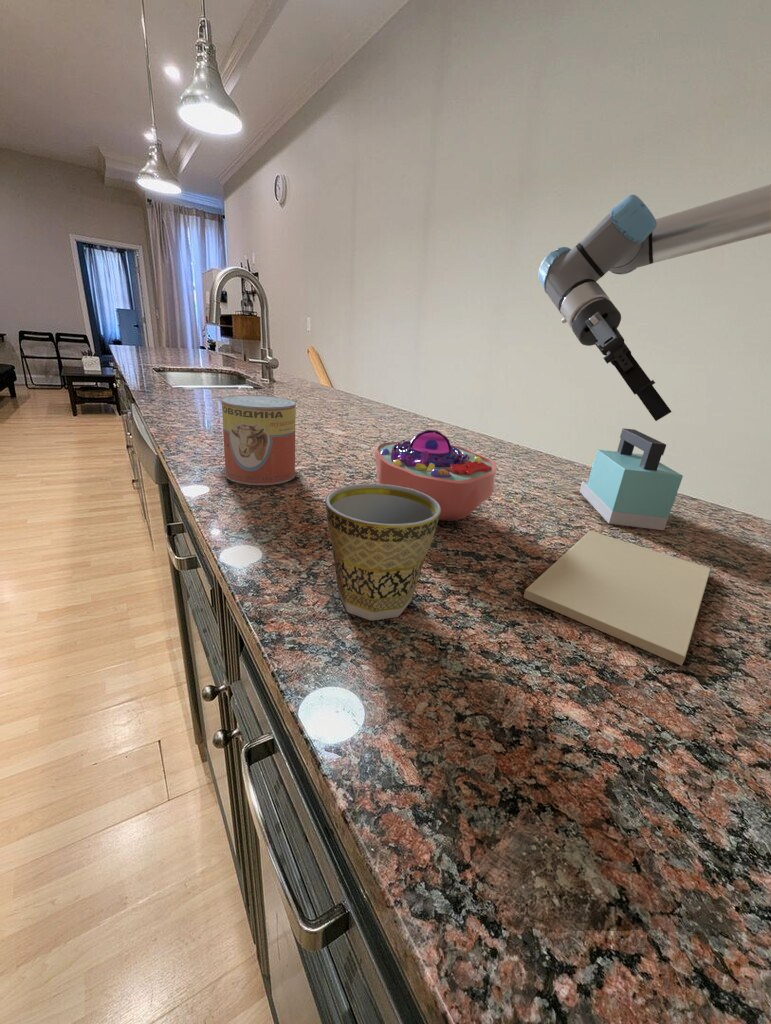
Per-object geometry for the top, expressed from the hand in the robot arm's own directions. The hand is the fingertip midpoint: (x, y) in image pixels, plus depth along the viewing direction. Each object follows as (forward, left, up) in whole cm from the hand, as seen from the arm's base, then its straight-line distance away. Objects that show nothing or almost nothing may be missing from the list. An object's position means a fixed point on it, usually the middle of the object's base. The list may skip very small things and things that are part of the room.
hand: (654, 403), depth 72 cm
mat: (+12, +32, -17) cm, 38 cm away
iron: (+3, +5, -17) cm, 18 cm away
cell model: (+34, +17, -17) cm, 42 cm away
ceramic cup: (+38, +40, -17) cm, 58 cm away
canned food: (+62, +9, -17) cm, 65 cm away
